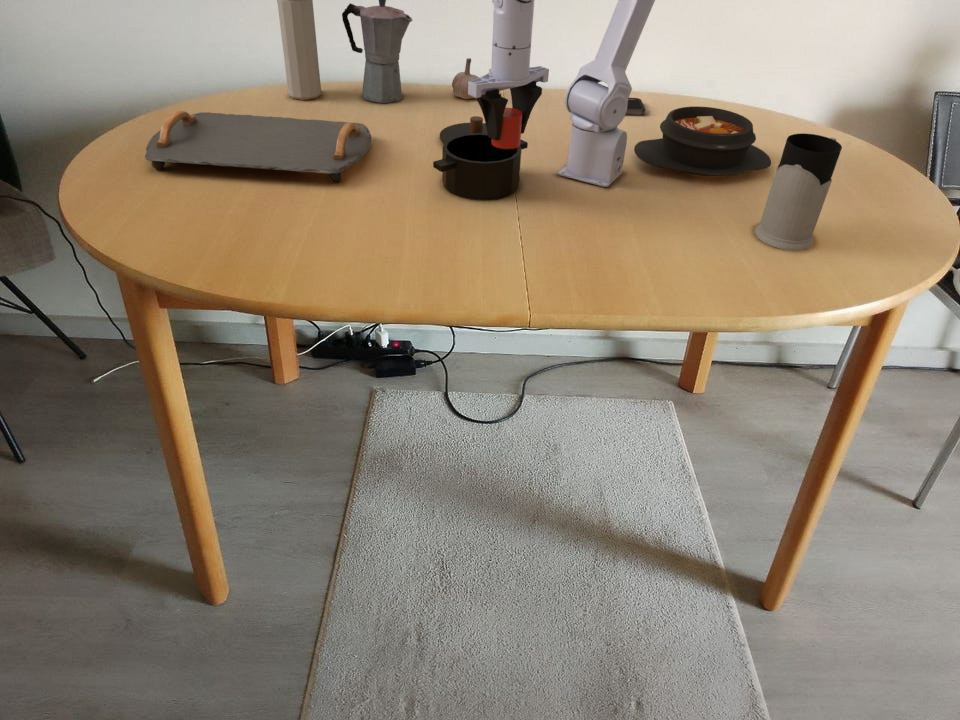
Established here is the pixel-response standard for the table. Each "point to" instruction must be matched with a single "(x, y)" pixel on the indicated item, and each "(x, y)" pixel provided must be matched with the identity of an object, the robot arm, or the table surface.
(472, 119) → the cooker lid
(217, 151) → the serving tray
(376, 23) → the moka pot
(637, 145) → the casserole
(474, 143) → the cooker
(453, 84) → the garlic bulb
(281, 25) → the water bottle
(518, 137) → the tin
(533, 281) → the table surface
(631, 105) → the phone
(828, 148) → the glass holder
